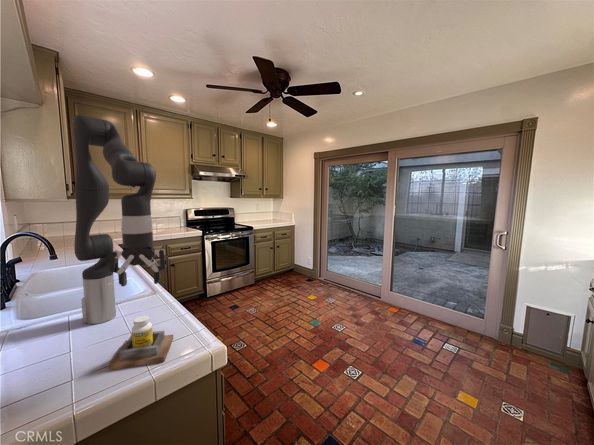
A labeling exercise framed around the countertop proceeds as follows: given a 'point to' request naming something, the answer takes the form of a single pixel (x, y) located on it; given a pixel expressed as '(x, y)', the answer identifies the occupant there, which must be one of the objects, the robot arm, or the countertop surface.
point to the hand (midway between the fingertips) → (140, 284)
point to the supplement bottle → (142, 332)
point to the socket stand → (142, 352)
